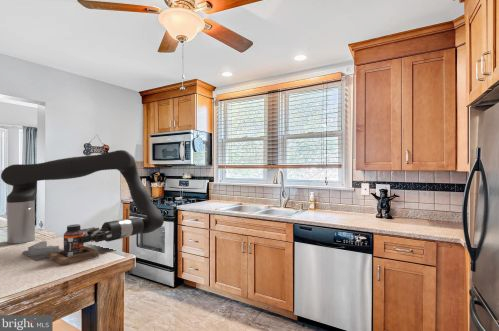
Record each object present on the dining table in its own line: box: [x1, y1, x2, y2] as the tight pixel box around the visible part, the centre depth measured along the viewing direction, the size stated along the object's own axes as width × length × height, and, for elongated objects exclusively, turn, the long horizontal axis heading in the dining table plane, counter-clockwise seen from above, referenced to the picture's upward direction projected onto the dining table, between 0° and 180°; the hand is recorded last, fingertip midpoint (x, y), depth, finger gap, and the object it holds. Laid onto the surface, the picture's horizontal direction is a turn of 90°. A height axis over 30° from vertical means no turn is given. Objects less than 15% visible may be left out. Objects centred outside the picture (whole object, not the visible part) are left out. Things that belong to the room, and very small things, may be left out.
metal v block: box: [22, 240, 63, 262], centre depth 100 cm, size 15×9×3 cm, turn 55°
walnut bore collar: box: [48, 245, 100, 266], centre depth 96 cm, size 12×11×2 cm
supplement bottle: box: [63, 224, 85, 257], centre depth 96 cm, size 6×6×11 cm
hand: (72, 238), depth 96 cm, fingers open, 8 cm apart
